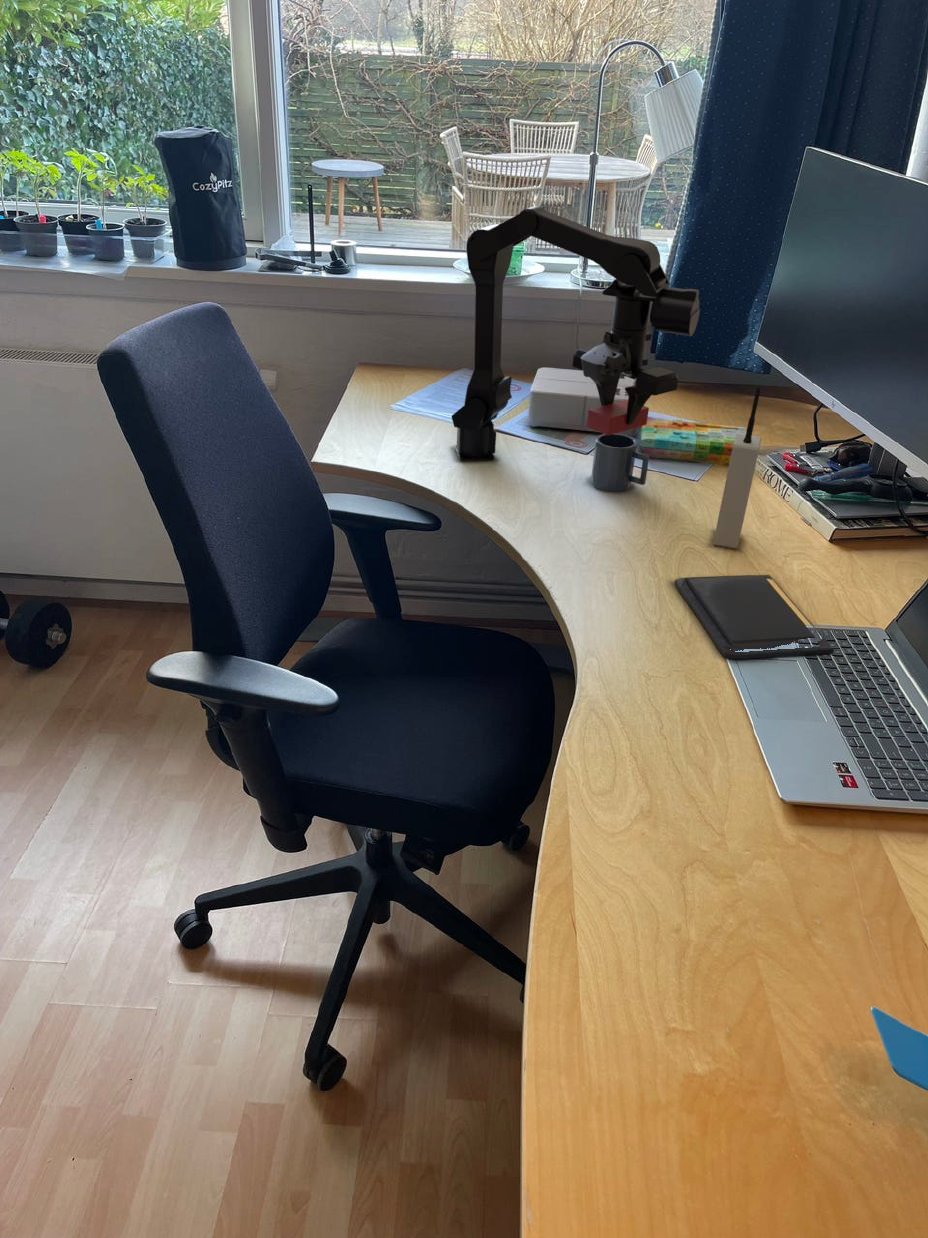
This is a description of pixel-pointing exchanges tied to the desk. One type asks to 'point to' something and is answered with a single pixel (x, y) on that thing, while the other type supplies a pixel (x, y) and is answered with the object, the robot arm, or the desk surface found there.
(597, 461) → the mug
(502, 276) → the robot arm
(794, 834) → the desk surface
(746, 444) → the vintage mobile phone
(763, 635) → the wallet
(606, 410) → the red rectangular block
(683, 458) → the puzzle game
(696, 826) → the desk surface
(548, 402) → the projector
